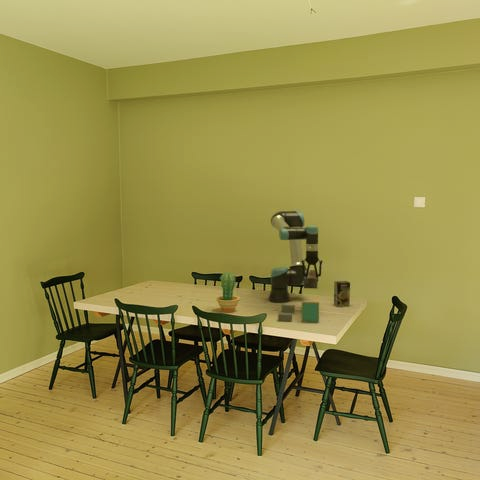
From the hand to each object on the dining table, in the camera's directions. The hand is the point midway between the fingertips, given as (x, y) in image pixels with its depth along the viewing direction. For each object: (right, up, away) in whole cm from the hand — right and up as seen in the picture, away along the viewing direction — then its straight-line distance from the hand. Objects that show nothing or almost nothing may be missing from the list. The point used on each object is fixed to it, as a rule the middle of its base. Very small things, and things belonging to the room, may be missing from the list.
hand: (311, 286), depth 297 cm
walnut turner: (0, +2, 0) cm, 2 cm away
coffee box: (+23, -15, +18) cm, 32 cm away
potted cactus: (-53, -16, +9) cm, 56 cm away
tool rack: (-17, -17, -7) cm, 25 cm away
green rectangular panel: (-4, -19, -19) cm, 27 cm away
